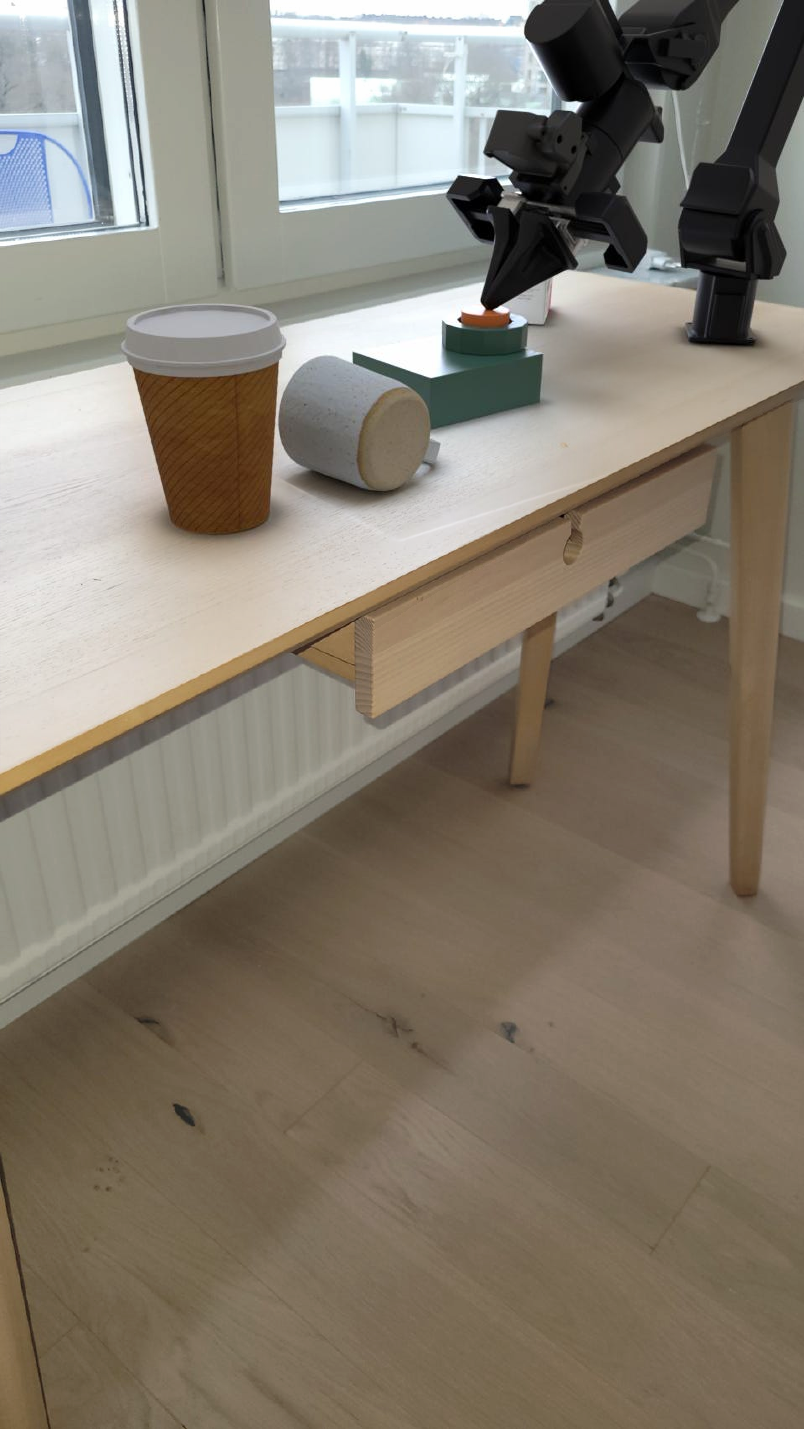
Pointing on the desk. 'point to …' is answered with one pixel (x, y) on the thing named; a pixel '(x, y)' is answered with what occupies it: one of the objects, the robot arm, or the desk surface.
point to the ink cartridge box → (532, 302)
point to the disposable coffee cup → (209, 408)
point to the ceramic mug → (355, 424)
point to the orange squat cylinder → (485, 316)
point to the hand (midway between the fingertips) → (485, 306)
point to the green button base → (463, 369)
